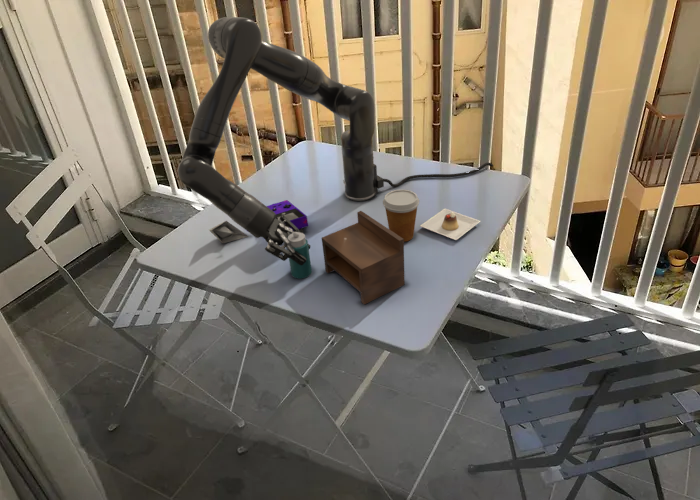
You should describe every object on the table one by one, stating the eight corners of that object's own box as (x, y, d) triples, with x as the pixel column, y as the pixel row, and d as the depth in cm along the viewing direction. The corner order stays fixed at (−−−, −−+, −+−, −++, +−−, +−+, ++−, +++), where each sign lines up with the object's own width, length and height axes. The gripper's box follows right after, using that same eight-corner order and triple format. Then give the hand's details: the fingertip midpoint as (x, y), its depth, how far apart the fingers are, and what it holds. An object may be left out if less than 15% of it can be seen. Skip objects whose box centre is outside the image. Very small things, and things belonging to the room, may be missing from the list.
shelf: (364, 254, 147) (361, 210, 140) (404, 284, 135) (403, 238, 128) (325, 271, 142) (320, 227, 135) (364, 304, 130) (360, 258, 123)
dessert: (419, 229, 155) (419, 214, 153) (444, 211, 162) (445, 197, 160) (456, 243, 148) (456, 228, 145) (480, 224, 155) (481, 209, 152)
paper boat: (237, 222, 163) (256, 224, 157) (234, 244, 163) (253, 247, 156) (201, 217, 154) (219, 218, 148) (198, 240, 154) (216, 243, 148)
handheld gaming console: (287, 198, 168) (306, 214, 156) (290, 214, 171) (309, 230, 159) (257, 207, 165) (275, 224, 153) (261, 223, 167) (279, 241, 155)
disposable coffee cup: (396, 249, 148) (395, 210, 141) (378, 233, 155) (376, 195, 148) (426, 238, 151) (426, 199, 145) (407, 223, 158) (406, 185, 152)
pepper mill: (305, 264, 145) (299, 224, 139) (315, 273, 142) (310, 232, 135) (287, 271, 143) (281, 231, 136) (297, 281, 139) (291, 240, 133)
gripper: (253, 220, 126) (311, 264, 132) (267, 190, 138) (320, 231, 143) (234, 240, 130) (292, 281, 135) (250, 209, 142) (302, 248, 147)
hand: (306, 255), depth 139 cm, fingers closed on pepper mill, 5 cm apart
